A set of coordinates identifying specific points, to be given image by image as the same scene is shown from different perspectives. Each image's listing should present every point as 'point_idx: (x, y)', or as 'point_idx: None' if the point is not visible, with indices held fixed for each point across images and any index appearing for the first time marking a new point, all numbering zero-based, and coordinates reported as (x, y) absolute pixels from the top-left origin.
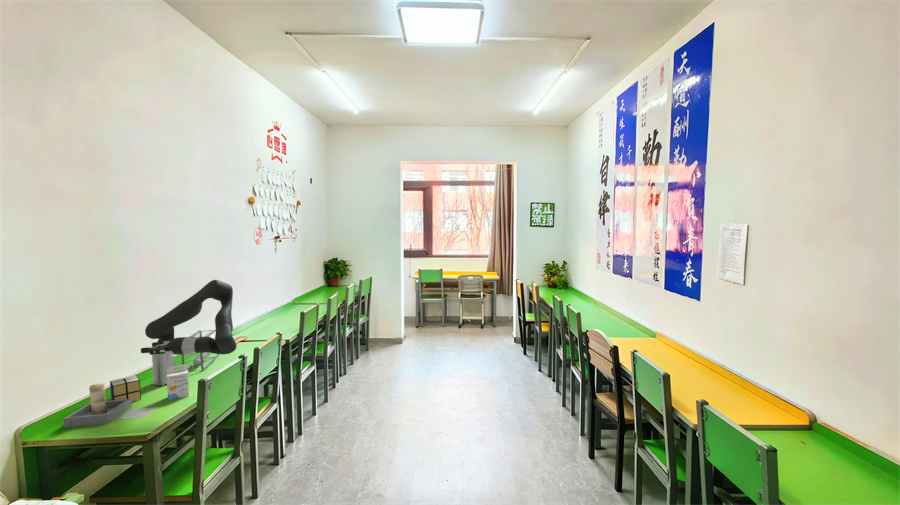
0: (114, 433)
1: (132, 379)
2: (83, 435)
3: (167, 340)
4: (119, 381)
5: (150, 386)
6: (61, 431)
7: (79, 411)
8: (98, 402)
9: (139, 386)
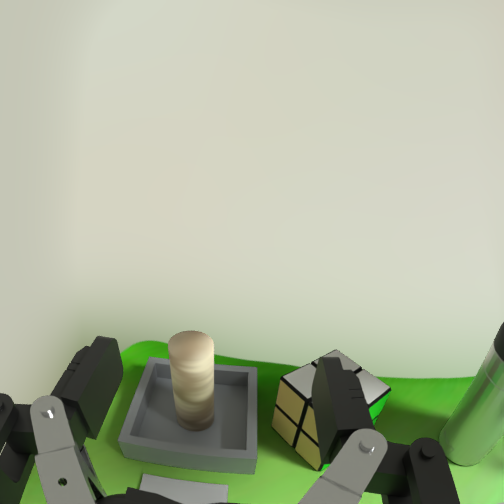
0: (40, 482)
1: None
2: None
3: (422, 462)
4: None
5: (432, 425)
6: (134, 377)
7: None
8: (174, 391)
9: None
